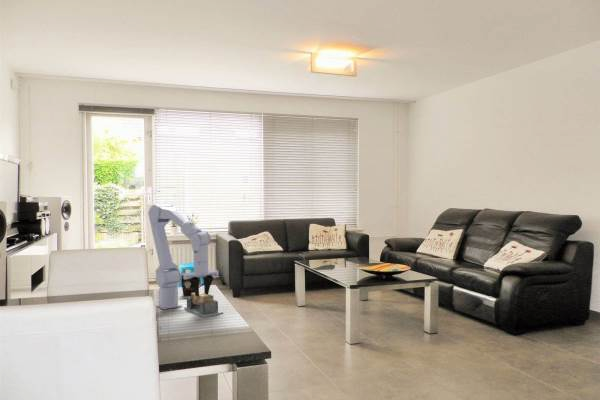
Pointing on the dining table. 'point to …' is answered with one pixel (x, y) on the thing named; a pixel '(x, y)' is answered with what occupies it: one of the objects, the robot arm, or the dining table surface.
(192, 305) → the bracket
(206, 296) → the rail
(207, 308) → the bracket
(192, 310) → the board
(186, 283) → the coffee mug
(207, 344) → the dining table surface
